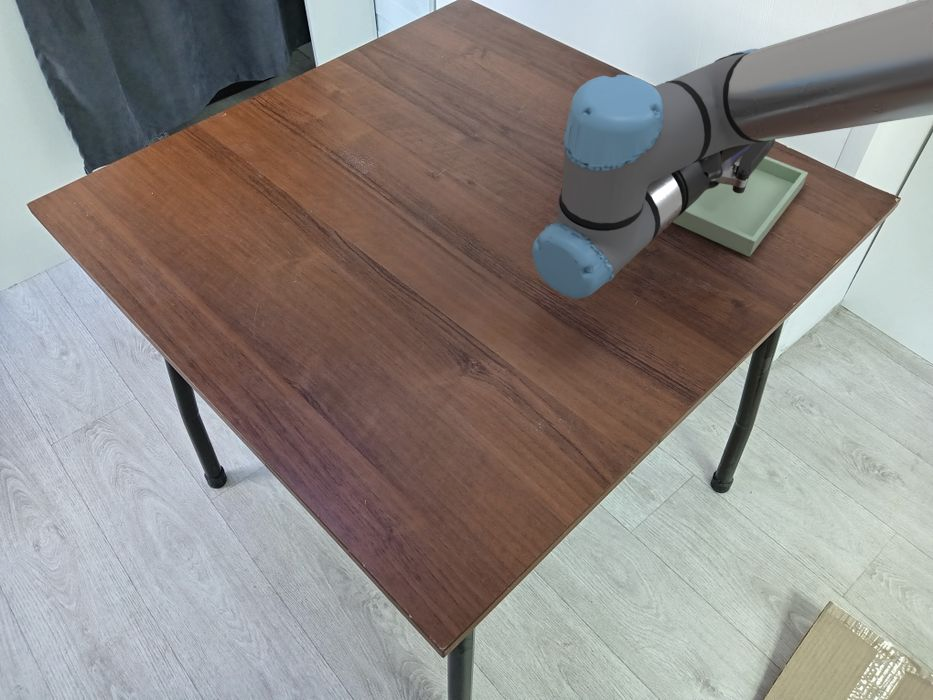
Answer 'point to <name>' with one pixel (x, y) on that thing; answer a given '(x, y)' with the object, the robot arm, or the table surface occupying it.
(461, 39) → the table surface
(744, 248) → the tray
